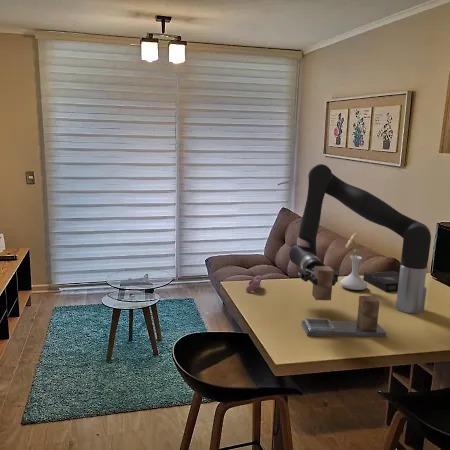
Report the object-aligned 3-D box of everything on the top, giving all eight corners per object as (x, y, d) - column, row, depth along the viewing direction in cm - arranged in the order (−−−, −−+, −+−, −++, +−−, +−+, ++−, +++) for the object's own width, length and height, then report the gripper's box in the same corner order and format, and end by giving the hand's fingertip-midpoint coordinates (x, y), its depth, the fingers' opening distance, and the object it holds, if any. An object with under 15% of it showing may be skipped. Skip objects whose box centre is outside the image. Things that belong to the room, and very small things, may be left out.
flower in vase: (345, 282, 209) (350, 227, 205) (370, 287, 203) (376, 231, 198) (334, 289, 199) (339, 231, 194) (360, 295, 192) (365, 236, 188)
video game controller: (254, 296, 190) (262, 282, 189) (244, 290, 191) (253, 277, 189) (257, 289, 200) (265, 275, 198) (248, 283, 200) (256, 270, 199)
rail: (375, 325, 161) (376, 319, 160) (385, 336, 152) (386, 329, 152) (301, 324, 159) (301, 317, 159) (307, 335, 151) (307, 328, 150)
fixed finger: (371, 324, 159) (374, 296, 157) (376, 330, 154) (379, 301, 152) (355, 323, 158) (358, 295, 156) (360, 329, 153) (363, 300, 151)
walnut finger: (327, 295, 156) (330, 266, 154) (331, 300, 151) (334, 270, 149) (312, 294, 156) (314, 265, 154) (315, 300, 151) (318, 270, 149)
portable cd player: (385, 293, 198) (386, 284, 197) (363, 281, 214) (363, 272, 213) (418, 291, 202) (419, 282, 202) (393, 279, 218) (394, 271, 218)
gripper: (293, 256, 165) (303, 270, 148) (333, 257, 166) (348, 271, 149) (292, 277, 166) (302, 293, 150) (331, 277, 167) (346, 294, 151)
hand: (325, 282), depth 150 cm, fingers closed on walnut finger, 5 cm apart
